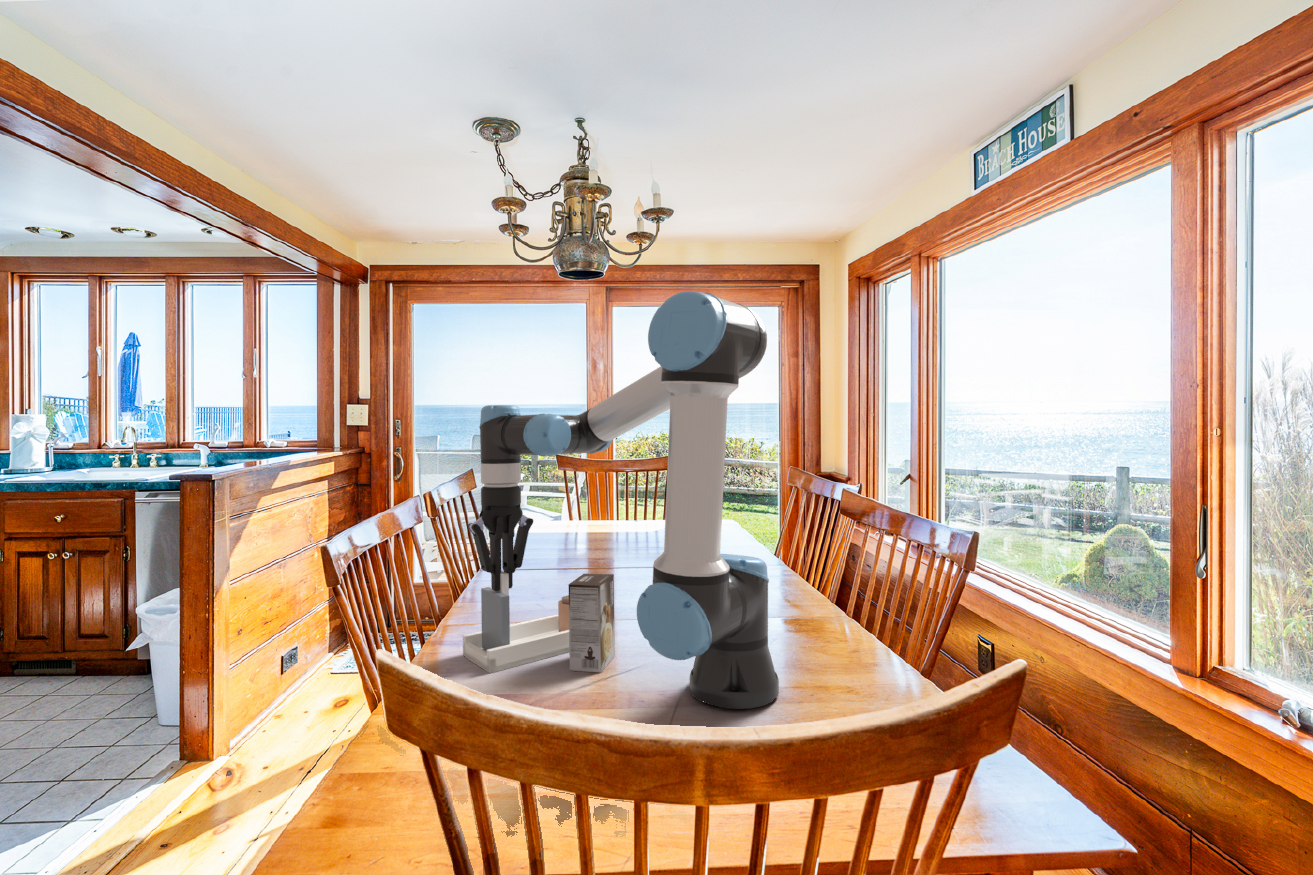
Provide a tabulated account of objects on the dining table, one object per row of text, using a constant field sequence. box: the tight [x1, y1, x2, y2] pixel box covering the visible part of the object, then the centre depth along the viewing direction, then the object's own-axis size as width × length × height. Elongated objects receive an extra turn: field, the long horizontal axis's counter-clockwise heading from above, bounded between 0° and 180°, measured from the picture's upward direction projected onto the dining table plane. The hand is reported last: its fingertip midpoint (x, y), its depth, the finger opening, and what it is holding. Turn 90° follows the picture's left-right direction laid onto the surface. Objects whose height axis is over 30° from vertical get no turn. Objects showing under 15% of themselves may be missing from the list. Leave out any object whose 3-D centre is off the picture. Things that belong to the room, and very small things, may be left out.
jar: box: [557, 594, 569, 632], centre depth 132 cm, size 6×6×8 cm
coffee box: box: [568, 573, 616, 673], centre depth 119 cm, size 9×6×16 cm
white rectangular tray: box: [462, 613, 569, 674], centre depth 127 cm, size 12×26×6 cm, turn 130°
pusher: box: [480, 586, 511, 650], centre depth 121 cm, size 9×2×12 cm, turn 40°
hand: (502, 606), depth 122 cm, fingers closed
